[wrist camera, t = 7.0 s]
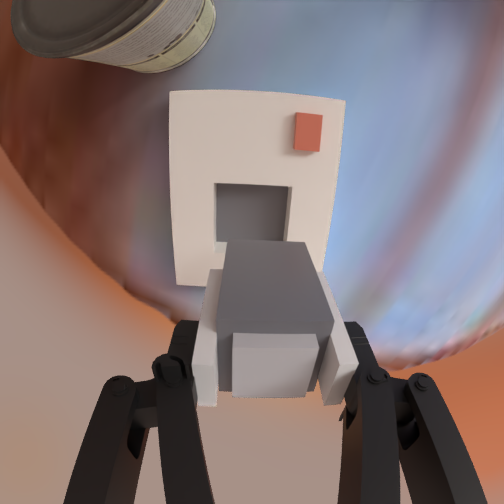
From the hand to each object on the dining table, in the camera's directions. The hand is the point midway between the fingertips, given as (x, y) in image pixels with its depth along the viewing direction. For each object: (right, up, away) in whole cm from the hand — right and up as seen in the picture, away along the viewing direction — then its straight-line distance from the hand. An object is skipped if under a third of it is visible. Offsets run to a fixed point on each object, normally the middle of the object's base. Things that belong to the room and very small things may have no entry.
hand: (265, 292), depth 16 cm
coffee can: (-9, +22, +3) cm, 24 cm away
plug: (0, +1, +2) cm, 2 cm away
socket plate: (-1, +8, +11) cm, 13 cm away
